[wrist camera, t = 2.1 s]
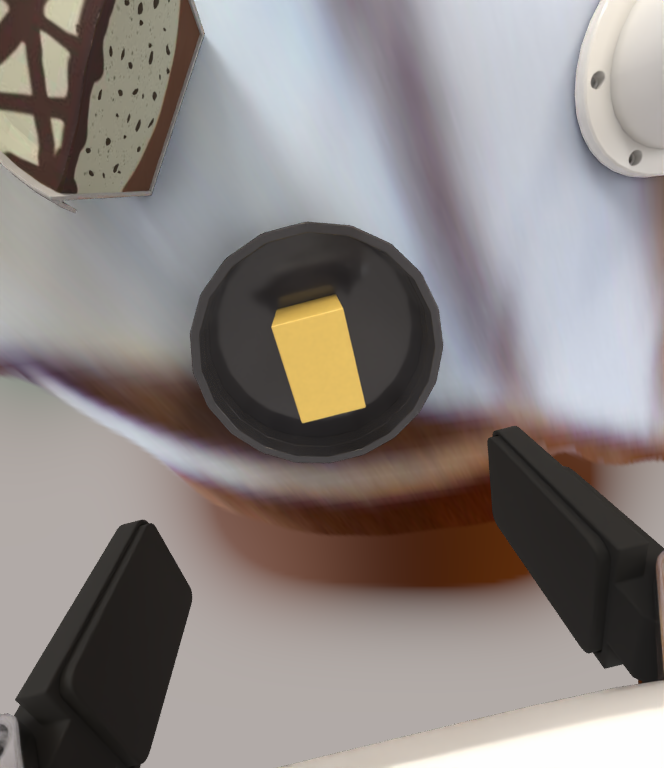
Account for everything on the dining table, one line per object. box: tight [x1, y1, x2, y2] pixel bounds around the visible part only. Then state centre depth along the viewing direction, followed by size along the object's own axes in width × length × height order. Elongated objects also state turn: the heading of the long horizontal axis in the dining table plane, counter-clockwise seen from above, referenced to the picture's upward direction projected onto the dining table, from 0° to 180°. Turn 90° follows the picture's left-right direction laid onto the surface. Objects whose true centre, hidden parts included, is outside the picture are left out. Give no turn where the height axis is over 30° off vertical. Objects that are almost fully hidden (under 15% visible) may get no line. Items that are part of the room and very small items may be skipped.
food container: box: [0, 0, 205, 213], centre depth 17 cm, size 12×6×10 cm, turn 151°
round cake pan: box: [190, 222, 443, 463], centre depth 27 cm, size 17×17×4 cm
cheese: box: [271, 294, 366, 423], centre depth 26 cm, size 4×7×5 cm, turn 14°
